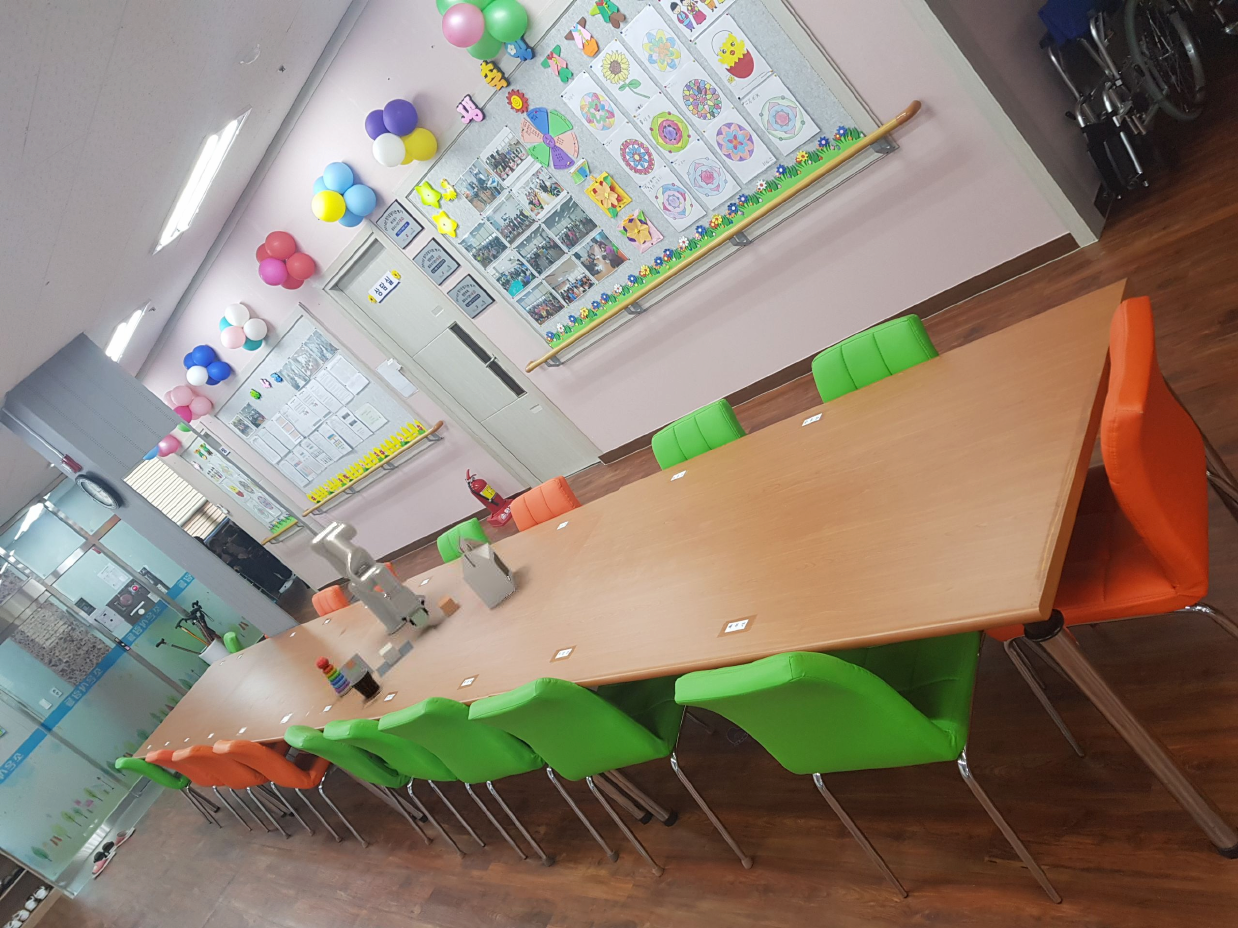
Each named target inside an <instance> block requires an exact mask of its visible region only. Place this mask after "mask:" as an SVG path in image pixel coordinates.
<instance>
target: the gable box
mask: <svg viewBox="0 0 1238 928" xmlns="http://www.w3.org/2000/svg"><path fill="white" fill-rule="evenodd" d="M457 553H459V554H462V555H461V557H460V558H461V566H462V567H461V568H462V575H463V576H462V579H463V581H464V582H466V584H467V585H468V586H469V587H470V588H471V590H472V591H473V592H474V594H476V595H477V596H478V599H480V600H481V601H482V603H483V604H485V606H486V607H487V609H489V610H492V609H494V608H495V607H496V606H498V605H499V604H500V603H502V600H503V599H504V598H505V597H507V596H508V595H509V594H510V593H511V592H513V591H514V590H516V591H517V588H515V587H516V582H515V577H514V578H513V576H514V572H513V571H512V570H511V568H509V566H508V565H507V564H506V562H505V561H504V560H503V559H502V558H501V557H500V556H499V554H498V553H497V552H496V551H495V550H494V548H493V547H492V546H491V545H490V544H489V542H485V541H480V540H477V539H473V538H470V537H469V538H465V539H464V538H463V536H462V535H459V537H458V540H457ZM507 576H509V578H510V580H509V579H508V577H507ZM514 582H515V583H514ZM514 592H515V591H514ZM514 592H513V593H514ZM509 596H510V595H509ZM509 596H508V597H509ZM508 597H507V598H508ZM505 599H506V598H505ZM505 599H504V600H505ZM504 600H503V601H504ZM498 603H499V604H498ZM497 604H498V605H497ZM494 606H495V607H494ZM493 607H494V608H493Z"/></svg>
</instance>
